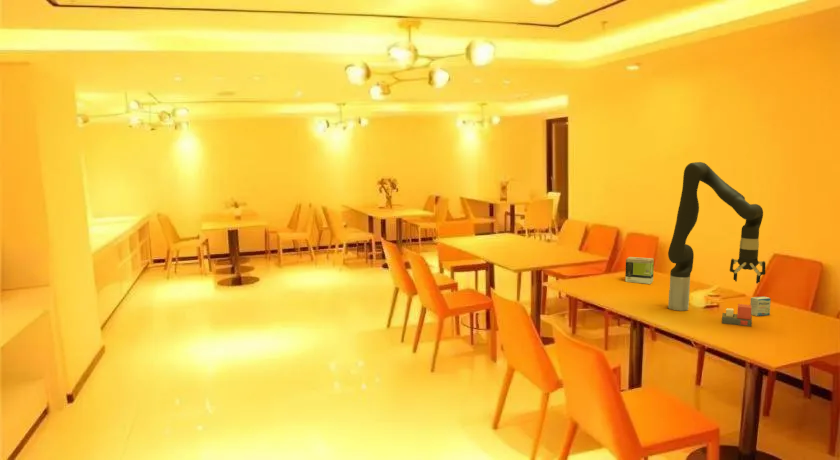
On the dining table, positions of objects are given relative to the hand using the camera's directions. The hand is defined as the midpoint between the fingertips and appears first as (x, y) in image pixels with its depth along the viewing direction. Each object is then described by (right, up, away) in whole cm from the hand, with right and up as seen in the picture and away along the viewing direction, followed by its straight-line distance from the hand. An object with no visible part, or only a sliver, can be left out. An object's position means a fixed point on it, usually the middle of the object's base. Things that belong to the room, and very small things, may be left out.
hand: (746, 282), depth 261 cm
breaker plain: (-5, -18, +5) cm, 19 cm away
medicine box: (+16, -18, +17) cm, 29 cm away
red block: (0, -17, +2) cm, 17 cm away
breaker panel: (-2, -19, +4) cm, 20 cm away
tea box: (-15, -8, +90) cm, 92 cm away
